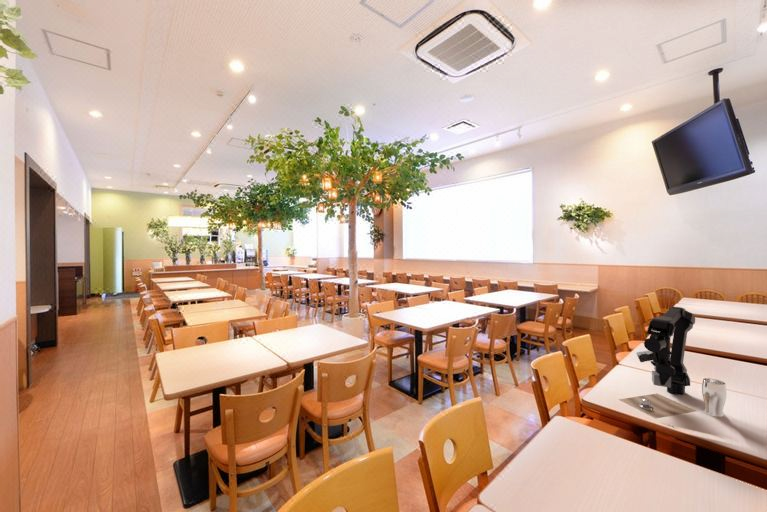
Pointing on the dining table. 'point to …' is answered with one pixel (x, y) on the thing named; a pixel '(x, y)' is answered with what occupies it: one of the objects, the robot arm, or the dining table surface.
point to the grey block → (657, 380)
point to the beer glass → (714, 396)
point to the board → (658, 405)
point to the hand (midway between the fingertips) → (661, 382)
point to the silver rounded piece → (645, 404)
